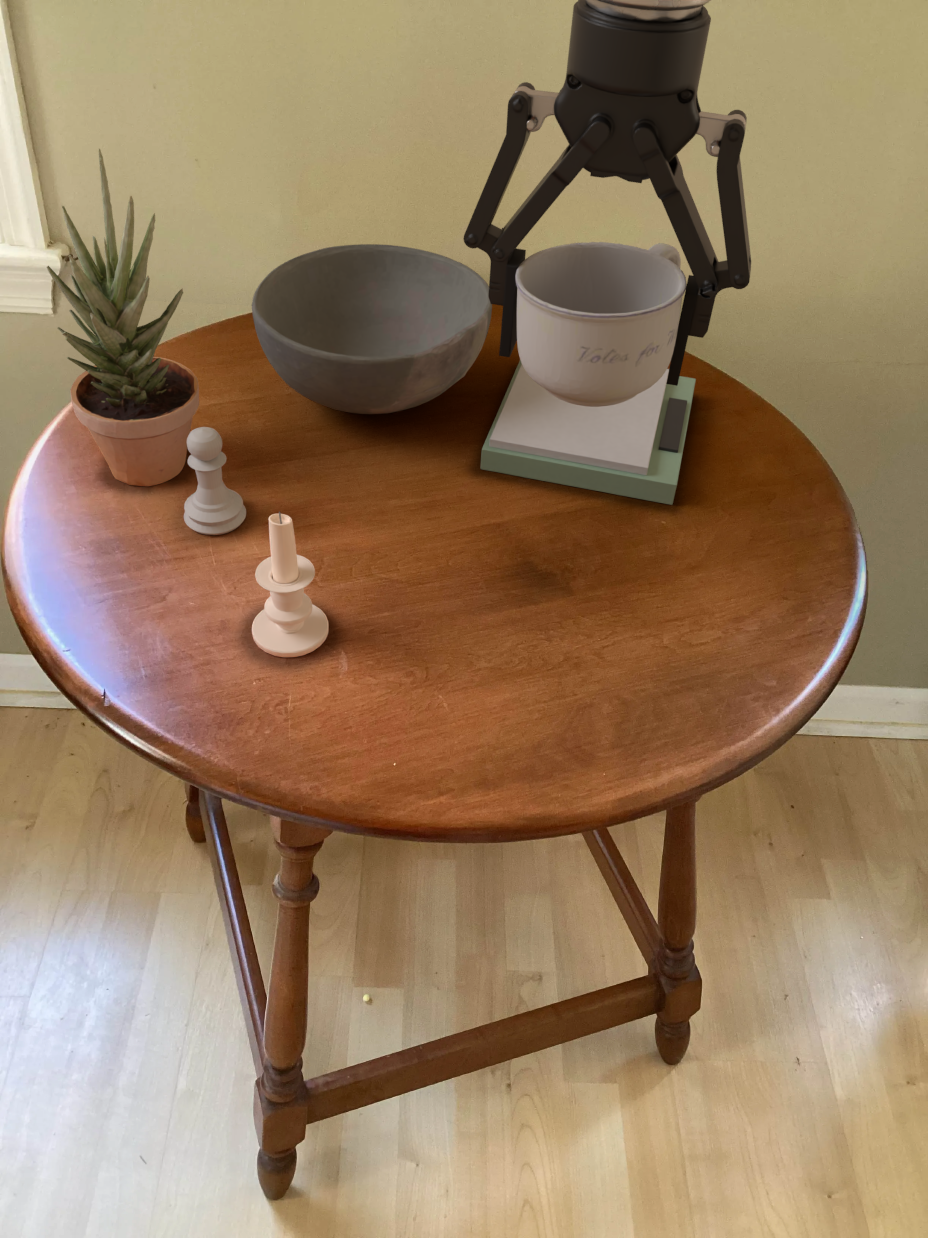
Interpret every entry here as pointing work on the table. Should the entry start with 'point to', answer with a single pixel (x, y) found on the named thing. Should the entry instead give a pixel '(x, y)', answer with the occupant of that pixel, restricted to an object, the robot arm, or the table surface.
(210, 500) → the chess piece
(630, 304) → the teacup
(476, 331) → the bowl
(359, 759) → the table surface
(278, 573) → the candle
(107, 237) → the potted plant
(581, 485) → the scale
